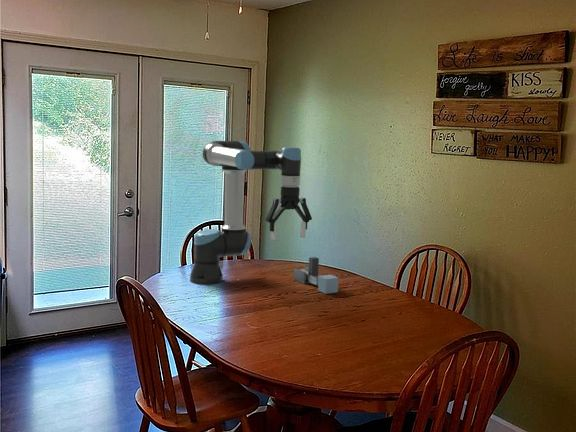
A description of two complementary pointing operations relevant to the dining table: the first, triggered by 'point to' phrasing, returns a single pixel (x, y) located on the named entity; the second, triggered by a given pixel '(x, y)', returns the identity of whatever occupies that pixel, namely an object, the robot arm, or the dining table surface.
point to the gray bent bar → (312, 271)
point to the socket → (328, 284)
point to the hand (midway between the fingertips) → (288, 238)
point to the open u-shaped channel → (300, 275)
